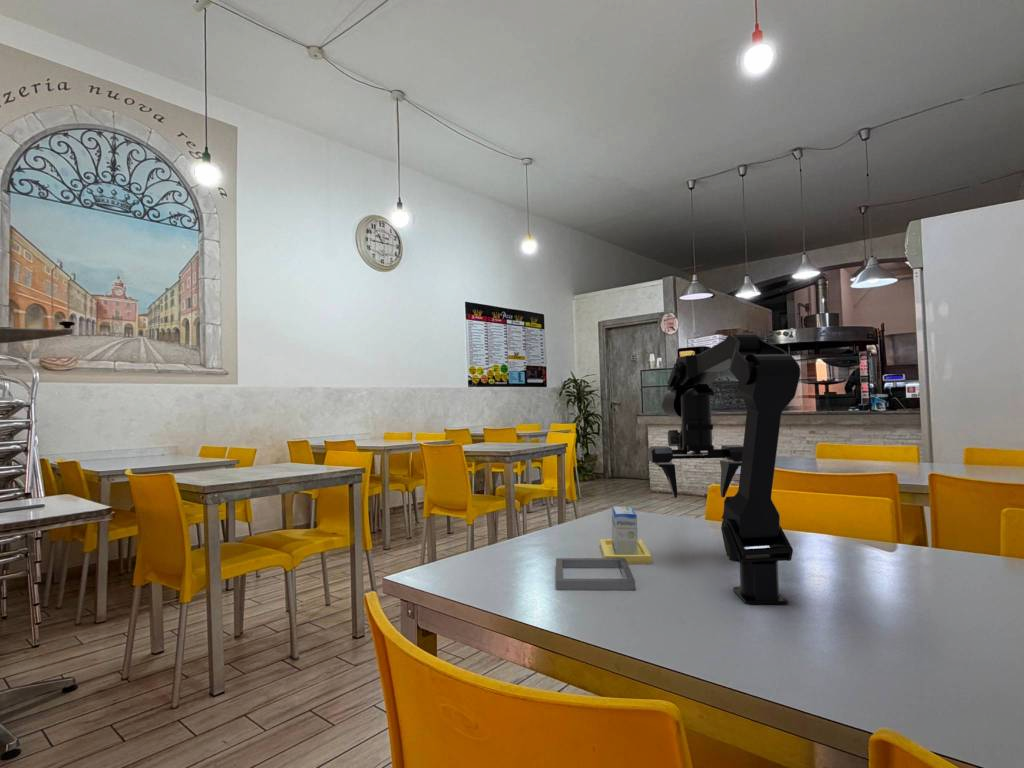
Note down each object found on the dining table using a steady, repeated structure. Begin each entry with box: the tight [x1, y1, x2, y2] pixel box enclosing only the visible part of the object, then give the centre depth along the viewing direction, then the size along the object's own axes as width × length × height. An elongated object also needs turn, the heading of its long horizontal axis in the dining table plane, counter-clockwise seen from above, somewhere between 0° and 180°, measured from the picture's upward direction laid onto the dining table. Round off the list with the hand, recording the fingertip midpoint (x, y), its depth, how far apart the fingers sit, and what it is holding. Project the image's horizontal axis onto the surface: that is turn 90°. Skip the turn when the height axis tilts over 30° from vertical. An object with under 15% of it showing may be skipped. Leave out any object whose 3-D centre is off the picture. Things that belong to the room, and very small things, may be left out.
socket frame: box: [555, 557, 636, 591], centre depth 100 cm, size 13×13×2 cm
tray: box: [599, 538, 653, 565], centre depth 114 cm, size 13×9×2 cm
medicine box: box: [611, 505, 639, 555], centre depth 114 cm, size 8×4×9 cm, turn 175°
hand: (698, 497), depth 109 cm, fingers open, 9 cm apart
